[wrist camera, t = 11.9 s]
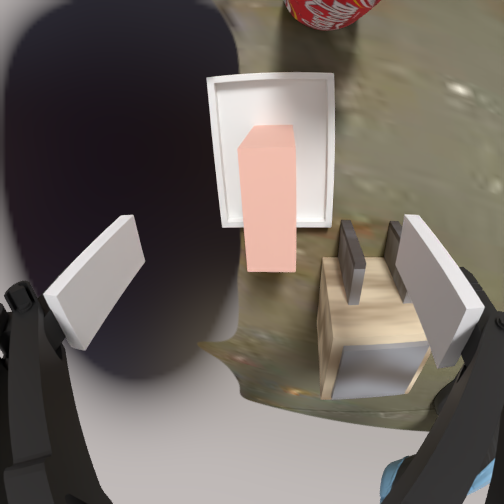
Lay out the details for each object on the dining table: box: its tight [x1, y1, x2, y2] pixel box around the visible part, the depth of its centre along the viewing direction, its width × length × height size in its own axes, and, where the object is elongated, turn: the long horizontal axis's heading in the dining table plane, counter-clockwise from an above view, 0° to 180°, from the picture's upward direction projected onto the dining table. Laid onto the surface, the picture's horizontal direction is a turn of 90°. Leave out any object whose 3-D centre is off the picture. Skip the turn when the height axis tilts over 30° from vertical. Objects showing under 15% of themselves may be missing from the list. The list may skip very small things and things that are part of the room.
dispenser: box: [317, 220, 431, 400], centre depth 29 cm, size 15×10×13 cm
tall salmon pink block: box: [237, 125, 297, 272], centre depth 24 cm, size 9×4×10 cm, turn 4°
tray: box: [207, 72, 335, 228], centre depth 27 cm, size 15×11×2 cm
